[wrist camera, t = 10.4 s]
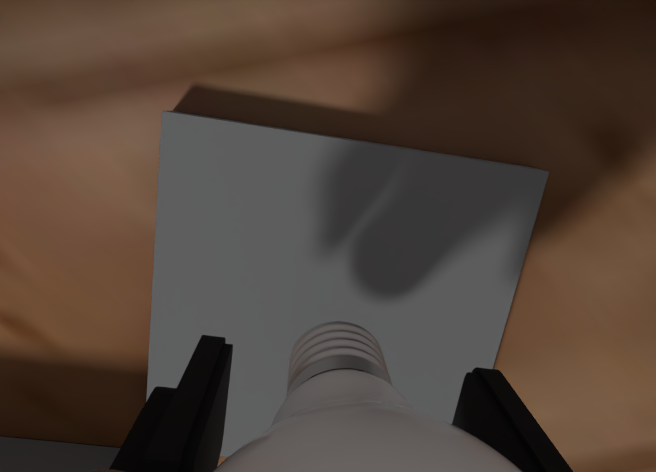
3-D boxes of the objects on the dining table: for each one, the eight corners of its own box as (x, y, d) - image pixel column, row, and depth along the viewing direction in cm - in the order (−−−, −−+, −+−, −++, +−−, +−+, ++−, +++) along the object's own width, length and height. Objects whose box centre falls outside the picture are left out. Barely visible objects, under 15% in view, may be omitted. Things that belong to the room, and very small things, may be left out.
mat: (533, 167, 15) (549, 171, 14) (452, 459, 18) (460, 479, 17) (172, 110, 14) (162, 110, 13) (152, 429, 17) (143, 448, 16)
